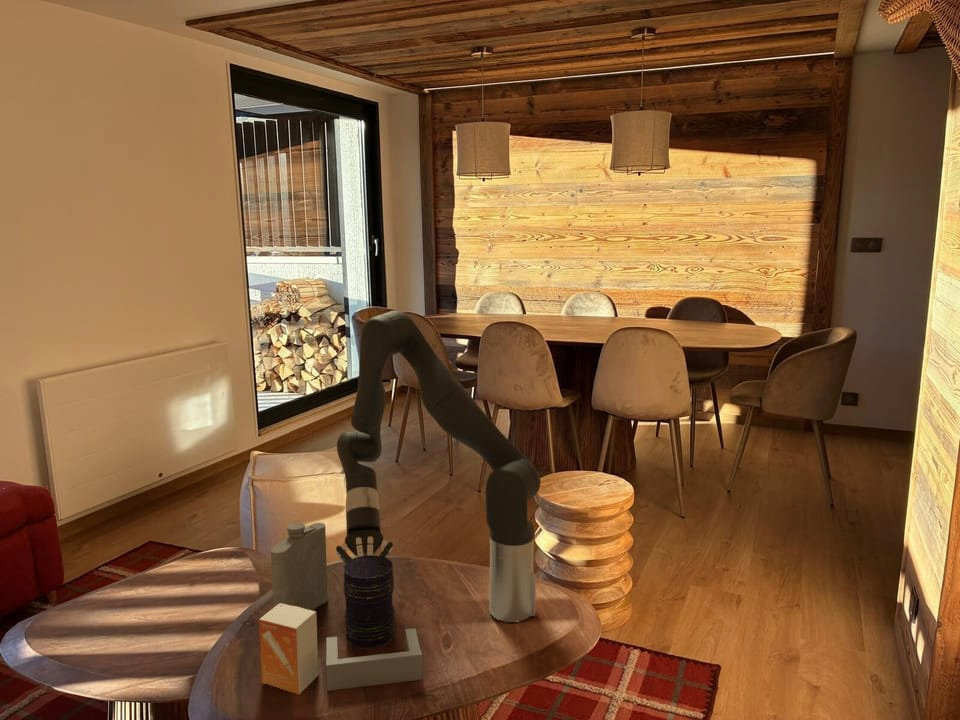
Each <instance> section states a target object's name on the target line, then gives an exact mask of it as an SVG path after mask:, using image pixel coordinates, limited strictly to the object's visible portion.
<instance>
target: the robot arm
mask: <svg viewBox="0 0 960 720" xmlns="http://www.w3.org/2000/svg"><path fill="white" fill-rule="evenodd" d="M360 333H361V334H360V342H359V361H358V362H359V363H358V365H359V366H358V382H357V391H356V394H355V395H356V397H355V400H354V404H353V409H352V413H351V417H350V425H351V427H352V428H354V429H353V430H356V431H344V432H343V433H341V434H340V435H339V436H338V439H337V441H336V450H337V451H336V452H337V456H338V459H339V461H340V463H341V466H342V469H343V473H344V477H345V494H346V495H345V498H346V499H345V522H346V523H345V525H346V527H345V528H346V536H345V538H344V542H343V543H342V544H341V545H337V546H336V548H335V554H336V555H337V556H338V558H339V559H341V561H342V562H343V563H344V565H345V564H346V563H347V562H348V561H350V560H352V559H353V558H352V557H351V556H350V555H349V554H348V552H349V551H348V550H350V552H351V553H352V554H353V556H355V557H356V558H357V557H360V556H367V555H376V553H377V552H378V550H379V549H380V548H381V552H380V554H379V555H378V556H382V557H385V558H388V556H389V555H390V553H391V552H392V551H393V548H394V544H393V542H392V541H387V540H385V539H384V534H383V533H382V531H381V529H382V528H381V527H382V526H381V515H380V514H381V512H380V510H381V509H380V500H379V495H378V494H379V493H378V486H377V485H378V483H377V474H376V471H375V469H373V468H372V467H370V466H367V465H365V464H362V463H374V462H376V461H377V460H378V459H379V458H380V457H381V455H382V445H383V444H382V438H381V436H382V435H381V426H382V421H383V417H384V413H385V409H386V405H387V392H386V388H385V385H384V382H383V373H384V372H383V371H384V369H385V365H386V363H387V362H388V359H389V357H392V356H394V355H397V354H400V355H401V357H403V358H404V359H405V360H406V361H407V363H408V364H409V365H410V367H412V369H413V371H414V372H415V374H416V378H417V380H418V386H419V391H420V395H421V399H422V403H423V405H424V407H425V409H426V410H427V412H428V413H429V415H430V416H431V417H432V418H433V420H434V421H435V422H436V424H438V426H439V428H441V430H443V431H444V432H445V434H447V435H448V436H450V437H451V438H453V439H455V440H456V441H458V442H459V443H461V444H463V445H465V446H466V447H467V448H469V449H471V450H473V451H474V452H476V453H477V454H478V455H479V456H480V457H481V458H482V459H483V460H484V461H485V462H486V463H487V465H488V466H489V467H490V468H491V469H492V472H490V474H489V475H488V477H487V479H486V483H485V513H486V514H485V516H486V517H485V518H486V523H487V527H488V529H489V587H488V588H489V590H488V591H489V593H488V595H489V597H488V599H489V600H488V606H489V607H488V608H489V610H488V611H490V612H489V615H490V614H491V615H492V616H493V617H494V618H493V617H492V616H491V615H490V616H491V617H492V618H493V619H495V618H496V619H497V621H499V620H501V621H500V622H502V621H505V622H504V623H507V622H516V621H521V620H524V619H526V618H527V617H529V616H531V615H535V616H536V599H537V598H536V595H537V594H536V587H537V575H536V572H535V571H534V556H535V555H534V545H535V544H534V543H535V542H534V541H535V538H534V537H535V526H534V524H533V521H531V520H529V519H528V502H529V501H530V500H532V499H533V498H534V497H535V496H536V495H537V494H538V493H539V491H540V488H541V477H540V473H539V471H538V469H537V468H536V466H535V465H534V464H533V463H532V462H531V461H530V459H528V458H527V457H526V456H525V454H523V452H522V451H520V450H519V449H518V448H517V446H516V445H514V444H513V443H512V442H511V441H510V440H509V439H508V438H507V437H506V436H505V435H504V433H502V432H501V430H500V429H499V428H498V427H497V425H496V424H495V423H494V422H493V421H492V419H490V417H489V416H488V415H487V414H486V413H485V412H484V410H483V409H482V408H481V407H480V405H478V403H477V402H476V400H475V399H474V398H473V397H472V395H471V394H470V393H469V392H468V391H467V389H466V388H465V387H464V386H463V385H462V384H461V382H460V381H458V379H457V378H456V377H455V376H454V375H453V373H452V372H451V371H450V370H449V368H448V367H447V366H446V364H445V363H444V362H443V361H442V359H441V358H440V357H439V356H438V354H437V353H436V352H435V350H434V349H433V348H432V346H431V345H430V343H429V342H428V340H427V339H426V337H425V336H424V334H423V333H422V331H421V330H420V328H419V327H418V326H417V324H416V323H415V321H414V320H413V319H412V317H410V316H409V315H408V314H407V313H405V312H403V311H401V310H391V311H388V312H385V313H381V314H378V315H376V316H373V317H371V318H369V319H368V320H366V321H365V323H364V324H363V325H362V329H361V332H360ZM496 619H495V620H496Z"/></svg>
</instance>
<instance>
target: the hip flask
mask: <svg viewBox="0 0 960 720" xmlns="http://www.w3.org/2000/svg"><path fill="white" fill-rule="evenodd" d="M286 531H287V532H288V536H286V537H284V538H283V539H282V540H281V541H279V542H278V543H276V545H274V546H273V547H272V548H270V563H271V564H270V565H271V581H272V583H271V584H272V587H271V588H272V602H273V603H272V604H273V608H274V607H275V606H277V605H278V604H280V603H282V604H286V605H291V606H297V607H301V608H304V609H308V610H312V611H315V610H316V609H317V608H318V607H321V606H322V605H323V604H326V603H327V602H328V601H329V597H328V596H329V591H328V590H329V589H328V569H327V568H328V567H327V566H328V565H327V538H326V537H327V535H326V534H327V533H326V524H325V523H323V522H316V523H315V522H314V523H312V524H309V525H307V526H306V525H305V523H304V522H299V521H298V522H292V523H289V524H288V525H287V526H286Z"/></svg>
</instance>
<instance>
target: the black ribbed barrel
mask: <svg viewBox="0 0 960 720" xmlns="http://www.w3.org/2000/svg"><path fill="white" fill-rule="evenodd" d="M393 565H394V564H393V561H392V560H391V559H389V558H388V557H387V558H385V557H382V556H379V555H376V554H374V555H367V556H360V557H357V556H356V557H355V558H352V560H350V561H348V562H347V563H346V564H345V563H344V566H343V593H344V594H343V595H344V596H345V610H344V627H345V640H346V641H347V643H348V644H349V645H351V647H354V648H359V649H362V650H363V649H364V650H365V649H367V650H368V649H376V648H379V647H382V646H385V645H386V644H388V643H390V642H391V641H392V640H393V638H394V636H395V630H394V627H395V612H396V611H395V607H394V605H393V593H394V589H395V585H394V584H395V582H394V577H395V576H394V570H393V569H394V566H393Z"/></svg>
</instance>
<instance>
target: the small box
mask: <svg viewBox="0 0 960 720" xmlns="http://www.w3.org/2000/svg"><path fill="white" fill-rule="evenodd" d="M258 620H259V621H258V622H259V623H258V624H259V643H260V647H259V648H260V665H261V666H260V667H261V684H262V683H264V684H268V685H271V686H270V687H272V686H274V687H273V688H275V687H277V688H276V689H279V688H280V689H279V690H282V689H283V691H287V692H289V693H293V694H295V695H300V694H302V692H303V691H304V690H305V689H307V688H308V687H309V685H310V684H311V683H312V682H314V680H315V679H316V678H317V677H318V676H319V653H318V650H319V648H318V626H317V624H318V623H317V622H318V621H317V611H315V610H308V609H304V608H301V607H297V606H291V605H286V604H282V603H280V604H278V605H277V606H275V607H273V608H272V609H270V610H269V611H268V612H267V613H265V614H264V615H263V616H261V617H260V618H259V619H258ZM264 684H263V685H264ZM268 685H267V686H268Z"/></svg>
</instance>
